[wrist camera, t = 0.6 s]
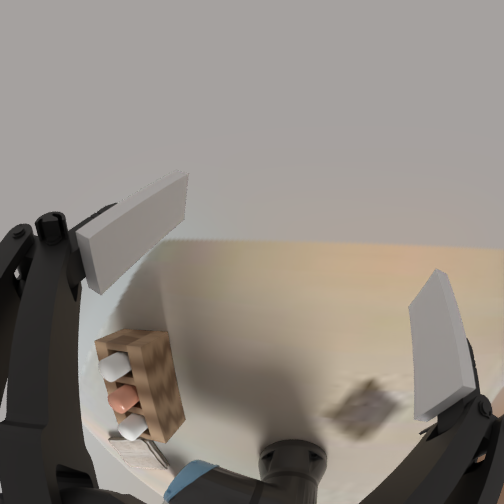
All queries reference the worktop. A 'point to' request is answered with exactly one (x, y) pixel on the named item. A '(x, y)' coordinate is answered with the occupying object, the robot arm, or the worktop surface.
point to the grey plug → (115, 366)
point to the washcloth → (139, 453)
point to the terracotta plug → (123, 398)
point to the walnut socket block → (147, 379)
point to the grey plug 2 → (132, 426)
